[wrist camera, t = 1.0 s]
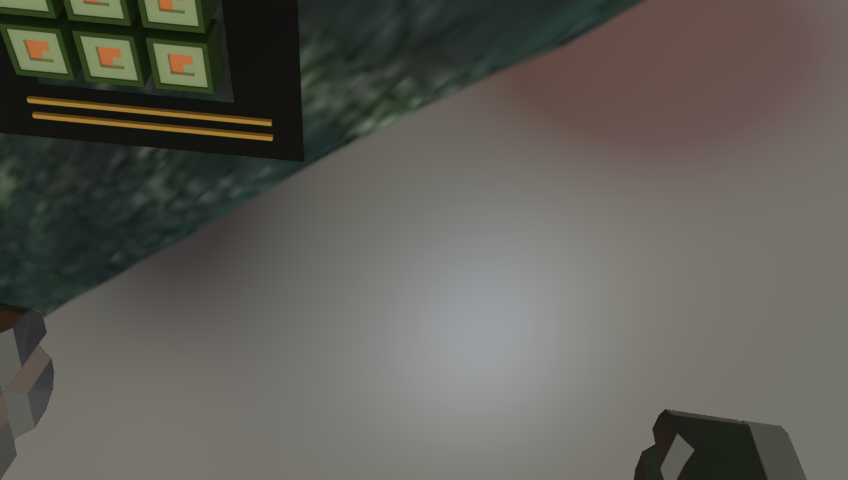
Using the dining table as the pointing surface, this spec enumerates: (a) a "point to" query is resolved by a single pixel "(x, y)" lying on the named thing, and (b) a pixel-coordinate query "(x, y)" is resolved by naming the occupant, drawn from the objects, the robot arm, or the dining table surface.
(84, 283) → the dining table surface
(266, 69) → the sushi
